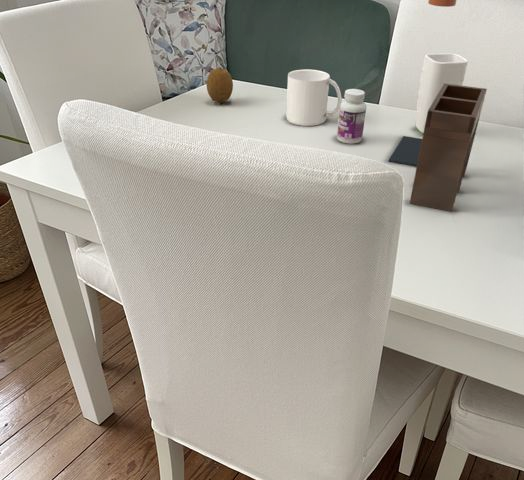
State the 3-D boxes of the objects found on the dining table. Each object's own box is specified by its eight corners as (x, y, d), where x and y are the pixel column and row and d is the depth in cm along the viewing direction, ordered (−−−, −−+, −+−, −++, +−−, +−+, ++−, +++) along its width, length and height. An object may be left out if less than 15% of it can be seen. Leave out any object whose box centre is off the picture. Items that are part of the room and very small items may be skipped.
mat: (439, 143, 119) (439, 141, 119) (427, 168, 109) (427, 166, 109) (403, 137, 121) (403, 135, 121) (388, 161, 111) (388, 159, 111)
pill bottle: (331, 139, 120) (335, 91, 114) (347, 133, 123) (352, 85, 117) (351, 146, 117) (357, 97, 111) (367, 140, 120) (373, 91, 114)
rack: (464, 175, 107) (486, 88, 97) (451, 211, 96) (475, 117, 86) (426, 169, 109) (444, 83, 99) (409, 203, 98) (427, 110, 88)
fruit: (207, 99, 139) (205, 63, 134) (232, 98, 139) (231, 63, 134) (207, 107, 134) (206, 71, 129) (234, 107, 135) (233, 70, 130)
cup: (408, 126, 126) (422, 53, 117) (439, 125, 127) (455, 52, 118) (421, 138, 121) (436, 63, 111) (453, 137, 122) (471, 61, 112)
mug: (280, 122, 127) (281, 78, 121) (293, 110, 134) (295, 67, 127) (331, 130, 124) (336, 85, 118) (343, 117, 130) (347, 74, 124)
